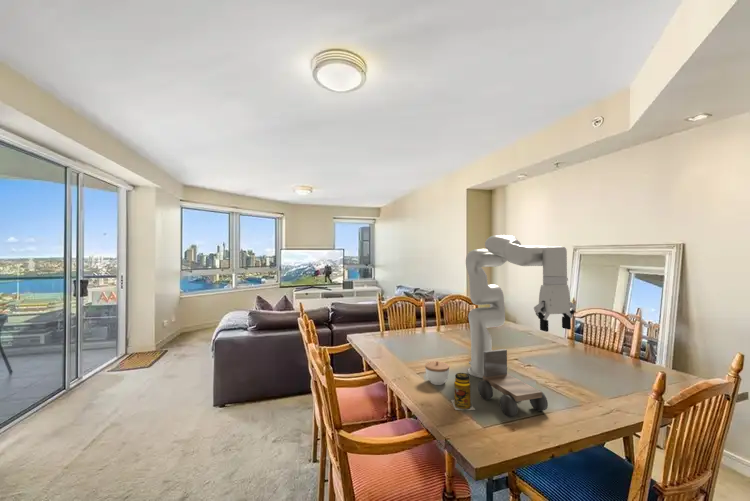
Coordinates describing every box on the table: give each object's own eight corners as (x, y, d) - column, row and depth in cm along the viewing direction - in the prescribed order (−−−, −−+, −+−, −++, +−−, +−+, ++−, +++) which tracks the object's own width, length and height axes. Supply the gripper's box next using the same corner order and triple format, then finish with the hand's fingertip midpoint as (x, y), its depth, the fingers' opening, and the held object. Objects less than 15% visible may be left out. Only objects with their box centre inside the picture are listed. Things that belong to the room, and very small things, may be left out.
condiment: (455, 410, 124) (455, 378, 124) (450, 400, 132) (450, 370, 132) (475, 410, 124) (475, 378, 124) (469, 400, 132) (468, 370, 132)
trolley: (478, 395, 136) (477, 351, 136) (509, 390, 140) (508, 348, 140) (512, 420, 116) (512, 368, 116) (547, 414, 120) (547, 364, 120)
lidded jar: (431, 388, 144) (431, 366, 144) (421, 379, 154) (421, 359, 154) (453, 385, 147) (453, 364, 147) (442, 376, 157) (442, 356, 157)
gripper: (565, 279, 123) (566, 325, 123) (526, 281, 118) (527, 329, 118) (583, 281, 116) (584, 330, 116) (543, 283, 111) (543, 334, 111)
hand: (555, 329), depth 117 cm, fingers open, 9 cm apart
